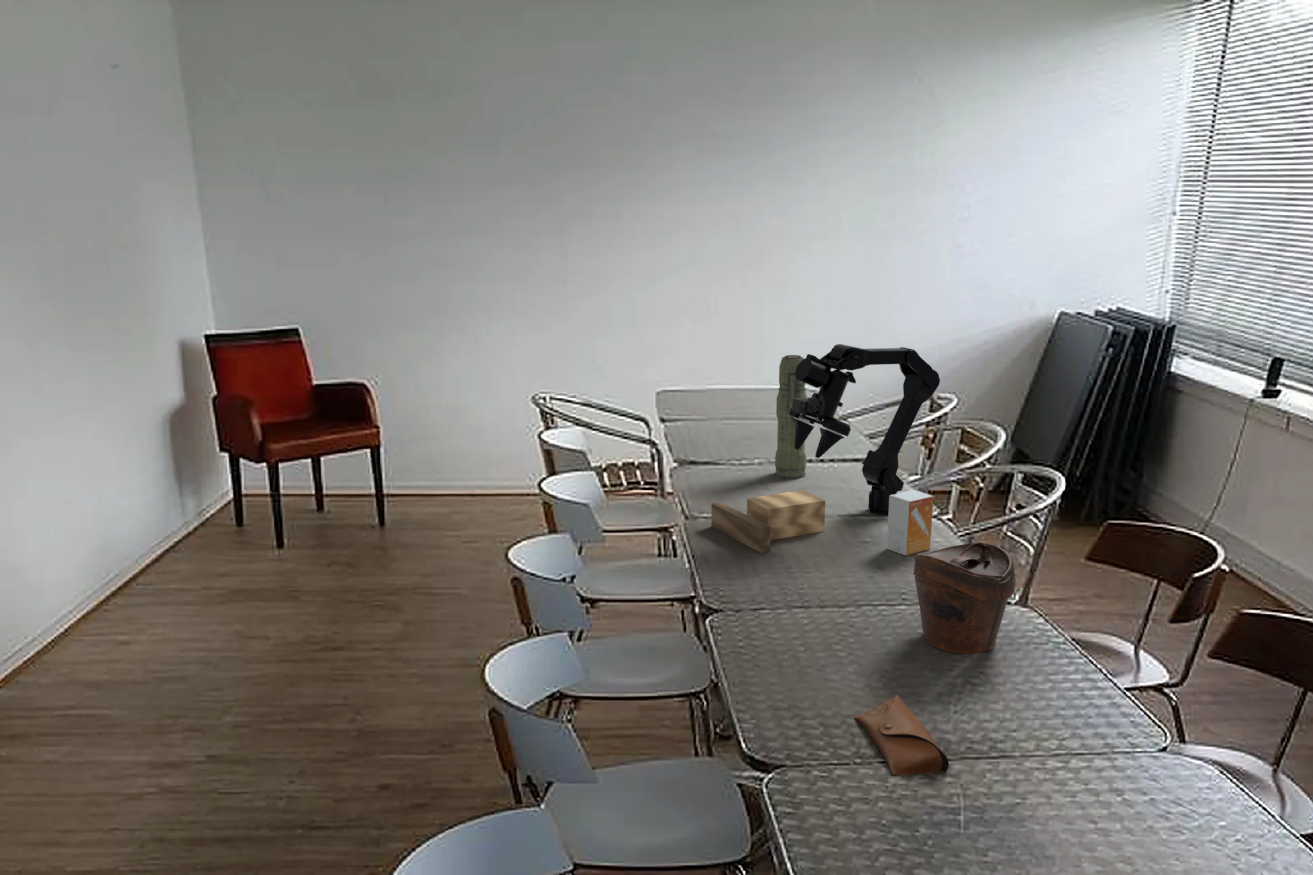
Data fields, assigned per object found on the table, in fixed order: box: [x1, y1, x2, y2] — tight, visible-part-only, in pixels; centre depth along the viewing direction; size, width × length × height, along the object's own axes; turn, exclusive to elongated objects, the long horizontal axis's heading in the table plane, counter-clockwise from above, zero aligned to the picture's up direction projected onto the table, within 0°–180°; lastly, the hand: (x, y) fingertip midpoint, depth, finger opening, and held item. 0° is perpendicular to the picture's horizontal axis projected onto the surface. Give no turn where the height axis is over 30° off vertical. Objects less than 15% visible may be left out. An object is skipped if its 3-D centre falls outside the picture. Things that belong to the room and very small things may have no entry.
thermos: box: [774, 354, 808, 480], centre depth 293 cm, size 9×12×35 cm
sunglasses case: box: [853, 693, 950, 777], centre depth 152 cm, size 18×7×7 cm
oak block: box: [746, 489, 826, 541], centre depth 248 cm, size 16×10×8 cm, turn 115°
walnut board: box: [710, 501, 771, 554], centre depth 242 cm, size 2×22×6 cm, turn 28°
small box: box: [886, 489, 934, 557], centre depth 233 cm, size 8×6×13 cm
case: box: [912, 542, 1017, 655], centre depth 185 cm, size 18×20×18 cm
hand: (806, 453), depth 249 cm, fingers open, 9 cm apart
